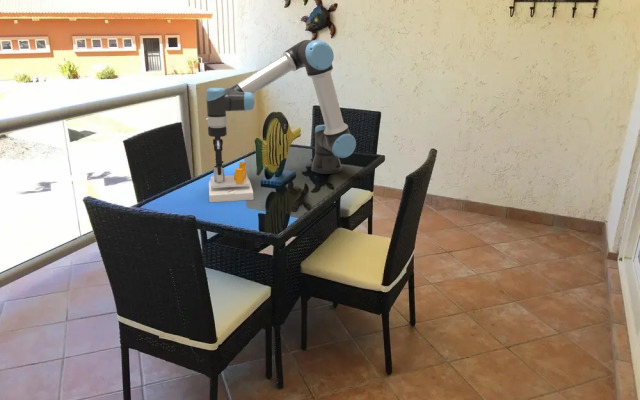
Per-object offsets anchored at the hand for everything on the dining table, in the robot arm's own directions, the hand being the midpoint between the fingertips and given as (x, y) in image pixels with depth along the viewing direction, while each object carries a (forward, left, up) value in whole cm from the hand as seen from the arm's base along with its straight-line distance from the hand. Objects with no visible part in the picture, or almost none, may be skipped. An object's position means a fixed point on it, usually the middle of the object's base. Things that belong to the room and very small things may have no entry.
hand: (219, 179), depth 212 cm
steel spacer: (0, 0, 0) cm, 0 cm away
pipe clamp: (-8, +1, 0) cm, 8 cm away
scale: (-4, +2, -6) cm, 8 cm away
